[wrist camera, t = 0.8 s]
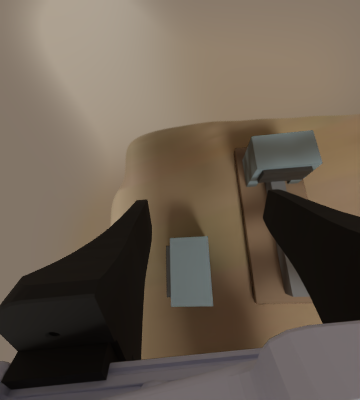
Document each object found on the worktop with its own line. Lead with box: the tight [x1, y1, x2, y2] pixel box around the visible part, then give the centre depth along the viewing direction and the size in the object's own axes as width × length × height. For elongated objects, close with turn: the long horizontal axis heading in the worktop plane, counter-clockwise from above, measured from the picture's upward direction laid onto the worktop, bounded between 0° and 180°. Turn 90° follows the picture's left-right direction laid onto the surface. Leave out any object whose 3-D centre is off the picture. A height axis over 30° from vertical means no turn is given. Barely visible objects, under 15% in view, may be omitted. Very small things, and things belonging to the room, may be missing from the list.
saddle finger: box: [166, 236, 213, 307], centre depth 22 cm, size 4×6×6 cm
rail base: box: [234, 130, 322, 304], centre depth 22 cm, size 20×8×6 cm, turn 2°
